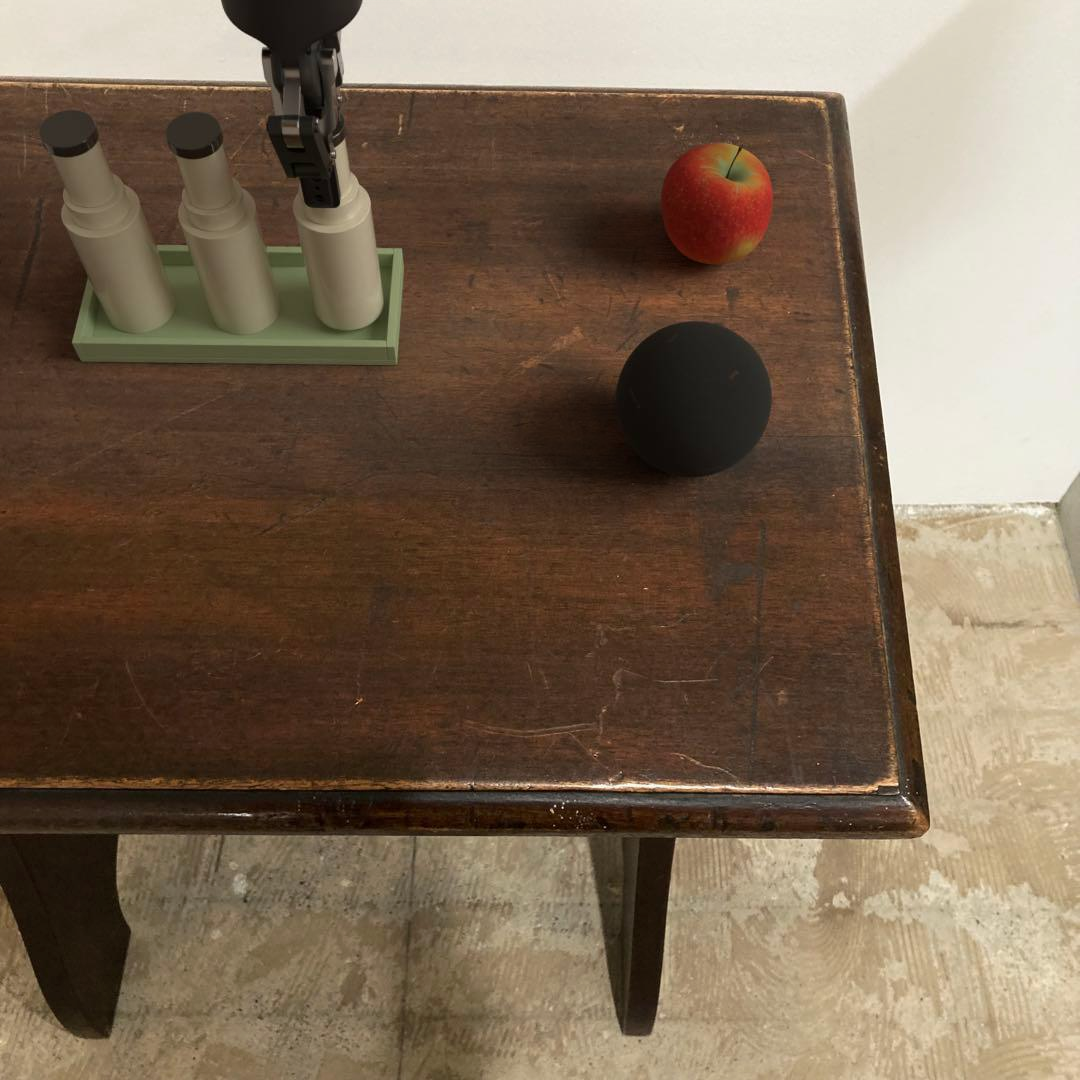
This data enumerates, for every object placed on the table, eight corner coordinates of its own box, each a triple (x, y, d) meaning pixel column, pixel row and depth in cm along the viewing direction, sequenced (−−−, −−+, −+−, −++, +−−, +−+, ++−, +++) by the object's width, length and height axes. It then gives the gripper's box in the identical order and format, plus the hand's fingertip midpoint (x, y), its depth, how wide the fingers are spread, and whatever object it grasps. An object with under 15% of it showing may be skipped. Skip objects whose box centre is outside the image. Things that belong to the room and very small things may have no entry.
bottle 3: (310, 330, 81) (270, 151, 67) (317, 277, 83) (279, 93, 70) (382, 331, 81) (356, 152, 67) (386, 278, 84) (362, 94, 70)
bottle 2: (206, 334, 82) (144, 158, 68) (215, 281, 84) (157, 101, 70) (276, 335, 82) (229, 160, 68) (284, 282, 84) (239, 102, 70)
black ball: (583, 462, 78) (592, 370, 69) (654, 363, 82) (671, 265, 73) (714, 530, 75) (740, 444, 67) (780, 425, 80) (813, 331, 71)
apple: (662, 202, 90) (678, 96, 81) (764, 219, 89) (792, 114, 80) (646, 278, 86) (661, 176, 77) (753, 296, 85) (781, 195, 77)
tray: (81, 362, 81) (71, 342, 79) (105, 263, 85) (96, 243, 84) (397, 365, 81) (394, 346, 80) (404, 267, 86) (401, 247, 84)
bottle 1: (99, 333, 81) (15, 156, 67) (112, 279, 84) (33, 98, 70) (170, 334, 81) (101, 158, 68) (181, 280, 84) (116, 100, 70)
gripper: (222, -163, 61) (278, 104, 76) (182, 7, 54) (253, 265, 69) (364, -160, 61) (392, 106, 76) (343, 10, 54) (378, 267, 69)
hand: (326, 180), depth 72 cm, fingers closed on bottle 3, 3 cm apart
